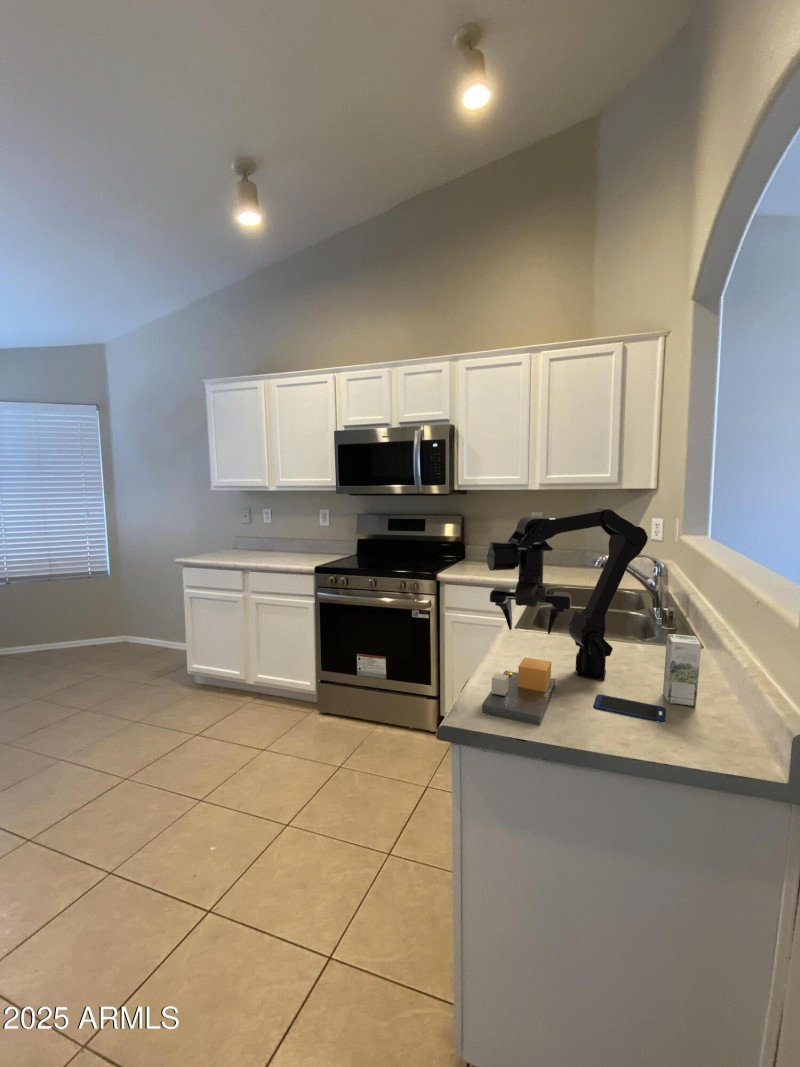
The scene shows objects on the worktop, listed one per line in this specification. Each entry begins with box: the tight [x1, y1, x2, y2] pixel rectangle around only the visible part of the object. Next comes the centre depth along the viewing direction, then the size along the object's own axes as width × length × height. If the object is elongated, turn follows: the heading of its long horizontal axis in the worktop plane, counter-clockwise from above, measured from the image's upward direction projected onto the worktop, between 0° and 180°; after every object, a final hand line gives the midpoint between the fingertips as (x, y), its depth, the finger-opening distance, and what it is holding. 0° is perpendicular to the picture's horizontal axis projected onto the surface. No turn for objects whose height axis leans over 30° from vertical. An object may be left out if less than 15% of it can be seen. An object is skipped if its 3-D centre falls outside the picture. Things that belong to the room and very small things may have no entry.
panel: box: [481, 670, 556, 726], centre depth 112 cm, size 12×20×2 cm, turn 154°
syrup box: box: [662, 633, 702, 707], centre depth 111 cm, size 6×6×14 cm
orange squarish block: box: [517, 656, 552, 692], centre depth 115 cm, size 6×6×5 cm
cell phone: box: [592, 694, 667, 723], centre depth 108 cm, size 7×14×1 cm, turn 62°
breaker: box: [490, 672, 509, 696], centre depth 110 cm, size 3×3×4 cm
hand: (529, 631), depth 122 cm, fingers open, 9 cm apart
